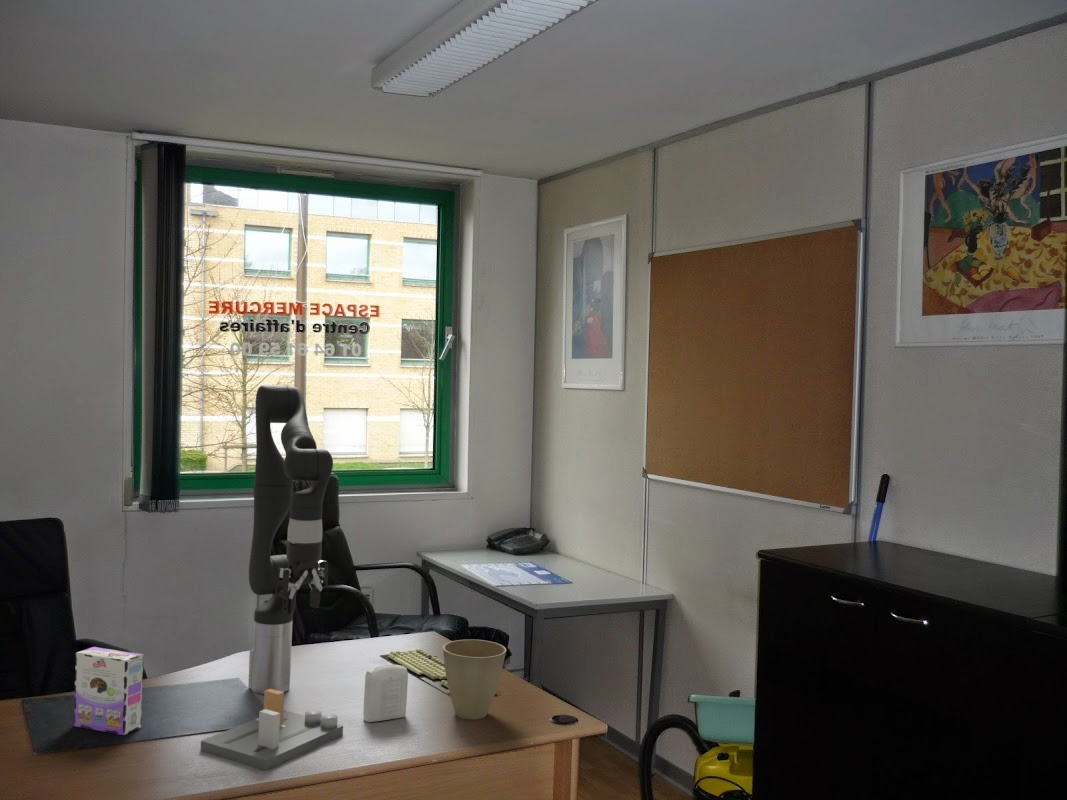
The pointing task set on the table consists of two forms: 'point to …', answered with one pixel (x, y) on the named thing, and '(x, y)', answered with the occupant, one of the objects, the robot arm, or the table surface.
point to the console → (274, 737)
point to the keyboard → (420, 665)
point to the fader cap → (274, 702)
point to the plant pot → (473, 675)
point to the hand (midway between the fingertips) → (301, 610)
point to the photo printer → (385, 693)
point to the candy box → (108, 690)
